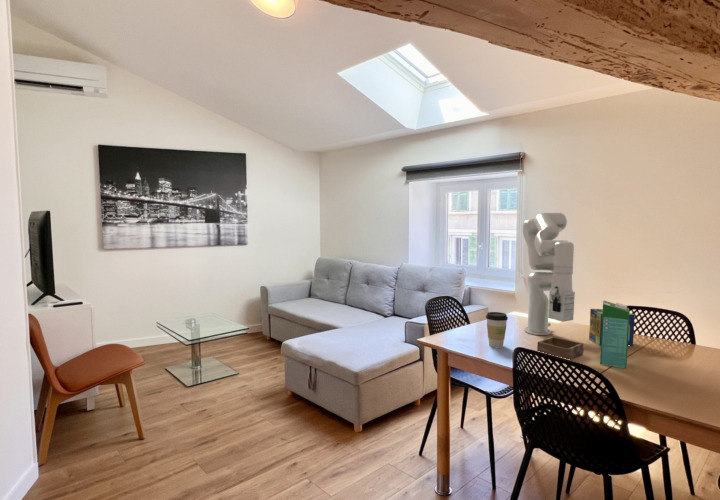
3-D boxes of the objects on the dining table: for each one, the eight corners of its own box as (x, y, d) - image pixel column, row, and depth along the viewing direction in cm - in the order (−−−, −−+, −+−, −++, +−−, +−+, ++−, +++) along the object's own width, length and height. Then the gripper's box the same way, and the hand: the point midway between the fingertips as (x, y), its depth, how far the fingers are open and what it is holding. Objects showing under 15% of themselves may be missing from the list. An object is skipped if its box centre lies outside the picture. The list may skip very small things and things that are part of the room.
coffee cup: (508, 349, 184) (509, 317, 183) (486, 348, 186) (486, 315, 185) (505, 343, 194) (506, 312, 193) (483, 341, 196) (484, 311, 195)
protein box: (588, 339, 200) (589, 308, 199) (621, 340, 199) (622, 309, 198) (599, 346, 190) (600, 313, 189) (633, 347, 188) (635, 314, 187)
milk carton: (626, 368, 161) (629, 306, 159) (600, 364, 166) (602, 303, 164) (626, 361, 169) (629, 302, 167) (600, 357, 173) (603, 300, 172)
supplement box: (547, 318, 179) (548, 289, 178) (559, 316, 183) (560, 288, 182) (562, 322, 173) (563, 292, 172) (574, 320, 176) (575, 291, 175)
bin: (552, 347, 188) (552, 336, 188) (582, 354, 177) (583, 343, 177) (537, 352, 180) (537, 341, 179) (568, 361, 169) (568, 349, 169)
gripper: (564, 268, 184) (562, 306, 185) (544, 270, 173) (542, 311, 175) (581, 269, 178) (579, 309, 179) (561, 272, 168) (560, 314, 169)
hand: (561, 309), depth 177 cm, fingers closed on supplement box, 8 cm apart
